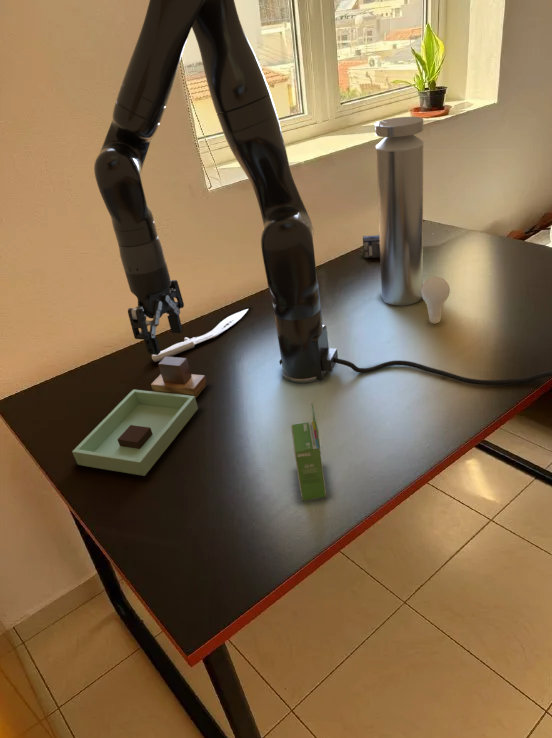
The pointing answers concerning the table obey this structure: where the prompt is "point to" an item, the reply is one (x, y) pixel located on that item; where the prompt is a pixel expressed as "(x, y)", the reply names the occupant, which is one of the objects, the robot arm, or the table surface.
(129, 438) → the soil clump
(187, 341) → the knife
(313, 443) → the ink box
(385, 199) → the silver metal canister
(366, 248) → the mini dv tape
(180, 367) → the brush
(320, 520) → the table surface
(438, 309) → the lightbulb
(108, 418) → the tray
